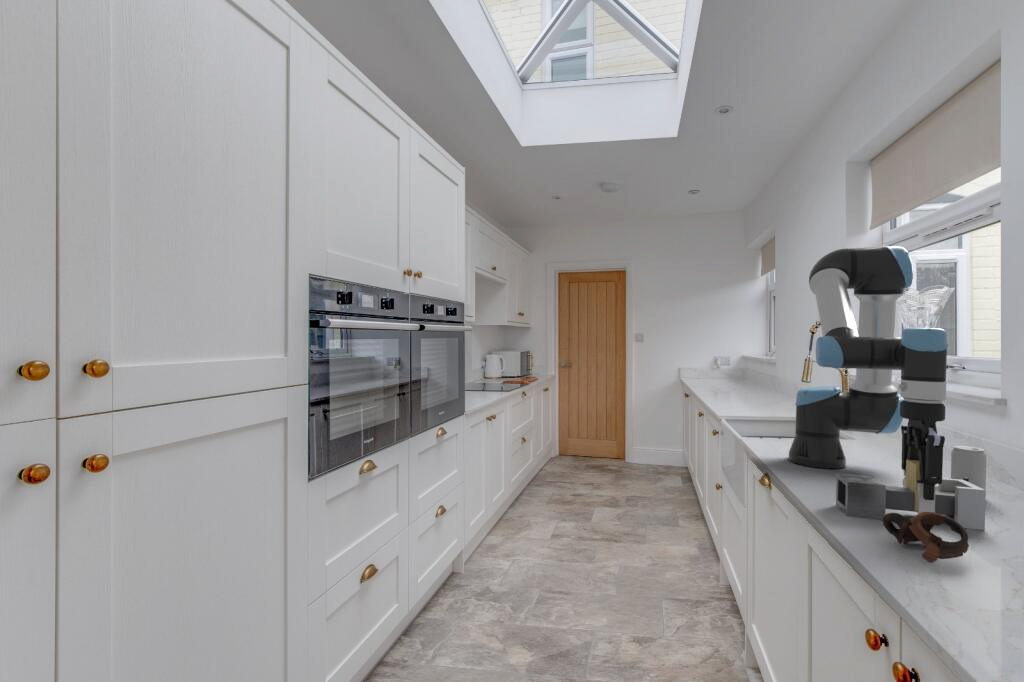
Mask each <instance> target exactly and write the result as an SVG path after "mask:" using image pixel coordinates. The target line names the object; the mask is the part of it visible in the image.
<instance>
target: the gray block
mask: <svg viewBox="0 0 1024 682" xmlns="http://www.w3.org/2000/svg"><path fill="white" fill-rule="evenodd" d="M835 481H836V484H835V506H836V505H837V506H838V507H839V508H840V509H839V508H838V507H837V506H836V507H837V508H838V509H839V510H840V511H841V510H842V511H843V514H844V515H846V516H847V517H853V516H854V518H862V519H863V518H865V519H866V518H867V519H873V518H874V520H882V519H883V517H885V515H886V509H885V508H886V486H887V485H886V484H885V483H884V482H882V481H881V480H879V479H878V478H877V477H874V476H872V475H862V474H852V473H851V474H850V473H837V472H836V480H835ZM842 511H841V512H842Z"/></svg>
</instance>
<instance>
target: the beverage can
mask: <svg viewBox="0 0 1024 682" xmlns="http://www.w3.org/2000/svg"><path fill="white" fill-rule="evenodd" d="M952 447H953V449H952V450H951V451H950V453H951V454H950V479H960V480H962V479H963V477H965V478H969V483H971V484H973V485H976V486H978V487H980V488H982V489H984V490H987V453H985V449H983V448H981V447H976V446H967V445H953V446H952ZM986 496H987V495H985V498H986Z"/></svg>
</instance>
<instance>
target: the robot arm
mask: <svg viewBox="0 0 1024 682" xmlns="http://www.w3.org/2000/svg"><path fill="white" fill-rule="evenodd" d="M913 279H914V267H913V261H912V259H911V255H910V253H909V251H908V250H907V249H906V248H905V247H902V246H887V245H885V246H873V247H872V246H870V247H857V248H856V247H855V248H847V247H846V248H840V249H836V250H833V251H831V252H828V253H827V254H826V255H824V256H822V257H821V258H819V260H818V261H817V262H816V263H815V265H814V266H813V267H812V269H811V271H810V273H809V277H808V283H809V284H808V285H809V288H810V291H811V292H812V294H814V295H815V300H816V305H817V311H818V317H819V321H820V322H819V323H820V327H821V333H822V336H819V337H818V338H817V339H816V342H815V362H816V364H817V365H818V366H819V367H822V368H833V369H855V381H853V382H852V383H850V384H849V388H848V391H842V388H841V387H840V386H813V387H805V388H801V389H799V390H798V391H797V393H796V397H795V399H796V400H795V407H796V408H795V409H796V410H795V435H794V438H793V441H792V442H791V446H790V448H789V450H788V461H789V460H790V462H791V463H793V462H794V463H793V464H796V463H797V465H801V466H804V467H805V466H806V467H810V466H811V468H817V467H819V469H829V468H838V469H843V467H844V468H846V467H847V457H846V455H845V453H844V452H845V451H844V449H843V446H842V443H841V440H840V435H841V433H840V432H841V431H844V432H845V431H846V432H858V433H872V434H876V435H877V434H878V435H879V434H894V433H897V431H898V430H899V429H901V470H903V471H904V470H905V473H906V460H919V467H920V479H921V480H916V481H917V483H918V507H917V512H916V513H917V515H918V514H919V513H922V512H934V513H935V485H938V484H942V478H943V467H944V466H943V465H944V464H943V463H944V461H943V460H944V458H943V457H944V445H945V442H946V438H945V436H944V435H939V434H938V430H937V422H943V421H945V420H946V404H945V403H944V401H946V399H947V362H948V361H947V357H948V351H947V350H948V347H949V343H948V338H947V336H948V335H947V332H946V330H945V329H943V328H937V327H931V328H929V327H928V328H927V327H925V328H924V327H909V328H904V329H903V330H902V333H901V337H895V326H896V313H897V300H898V299H899V298H901V297H902V296H903V295H904V291H905V289H908V288H910V287H911V286H912V284H913ZM851 289H852V290H853V296H854V297H856V298H857V299H858V301H859V306H858V326H857V322H856V318H855V314H854V312H853V311H854V310H853V307H852V304H851V299H850V296H849V291H848V290H851ZM893 371H900V384H898V388H897V387H896V386H895V385H894V384H892V378H893V377H892V376H893ZM898 389H900V393H898ZM904 419H906V420H907V421H908V422H907V425H902V422H903V420H904ZM845 466H846V467H845Z"/></svg>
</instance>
